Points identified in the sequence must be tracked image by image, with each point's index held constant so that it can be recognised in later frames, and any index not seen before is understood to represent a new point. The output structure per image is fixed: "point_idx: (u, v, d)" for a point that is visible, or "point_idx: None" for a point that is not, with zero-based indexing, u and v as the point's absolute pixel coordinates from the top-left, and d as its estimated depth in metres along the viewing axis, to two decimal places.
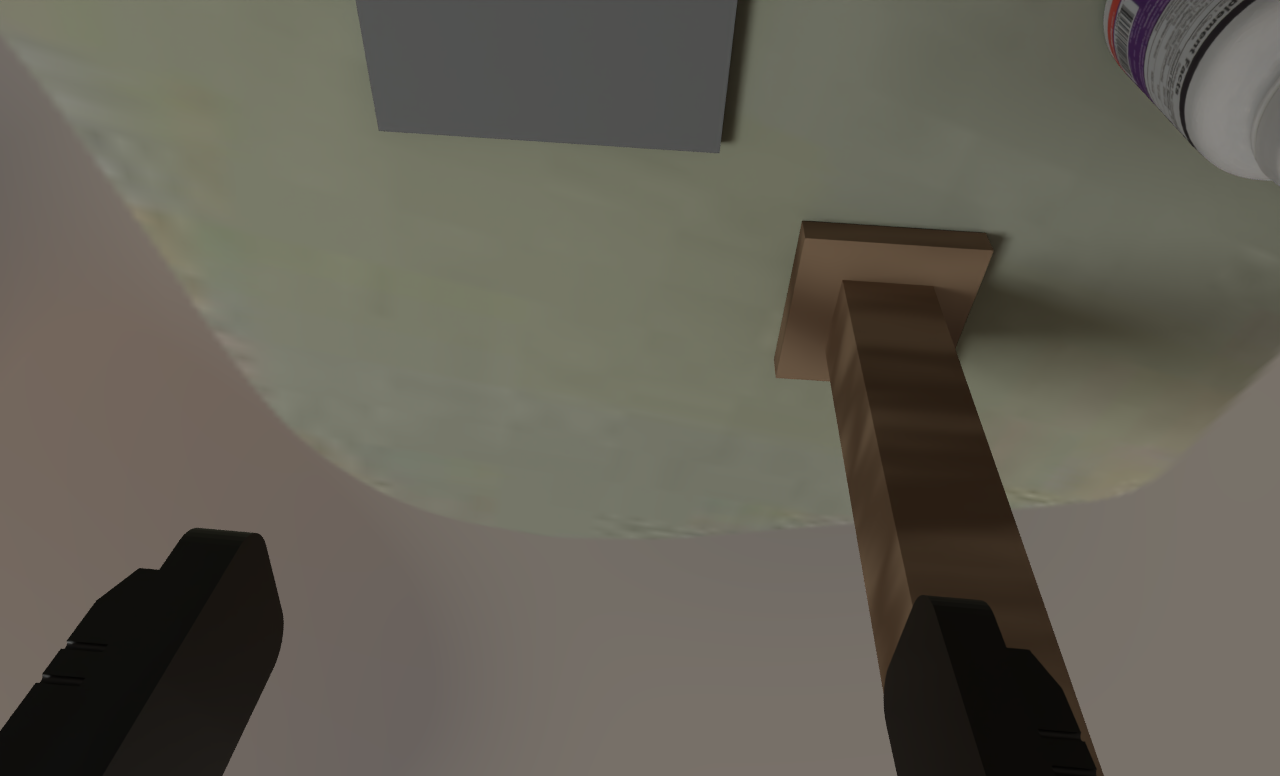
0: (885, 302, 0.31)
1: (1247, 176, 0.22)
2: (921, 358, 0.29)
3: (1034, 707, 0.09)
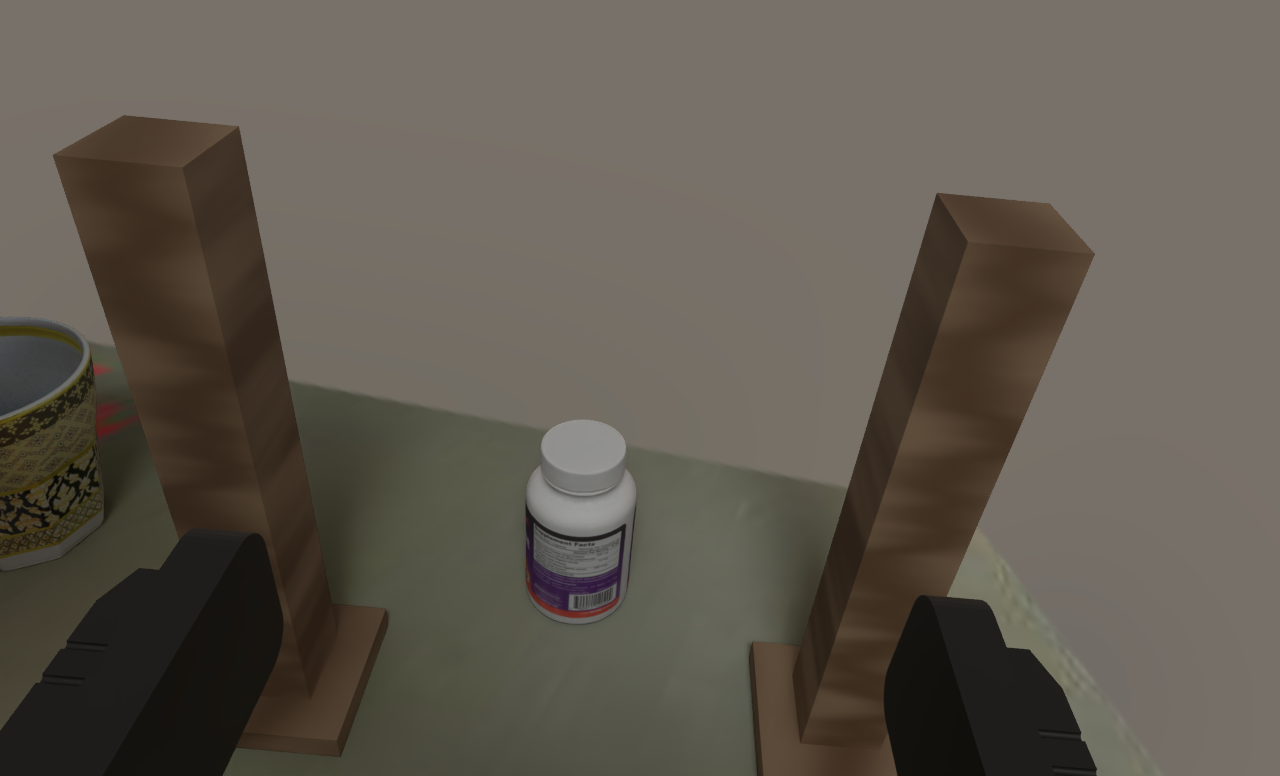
0: (802, 696, 0.37)
1: (631, 496, 0.40)
2: (814, 638, 0.36)
3: (1034, 707, 0.09)
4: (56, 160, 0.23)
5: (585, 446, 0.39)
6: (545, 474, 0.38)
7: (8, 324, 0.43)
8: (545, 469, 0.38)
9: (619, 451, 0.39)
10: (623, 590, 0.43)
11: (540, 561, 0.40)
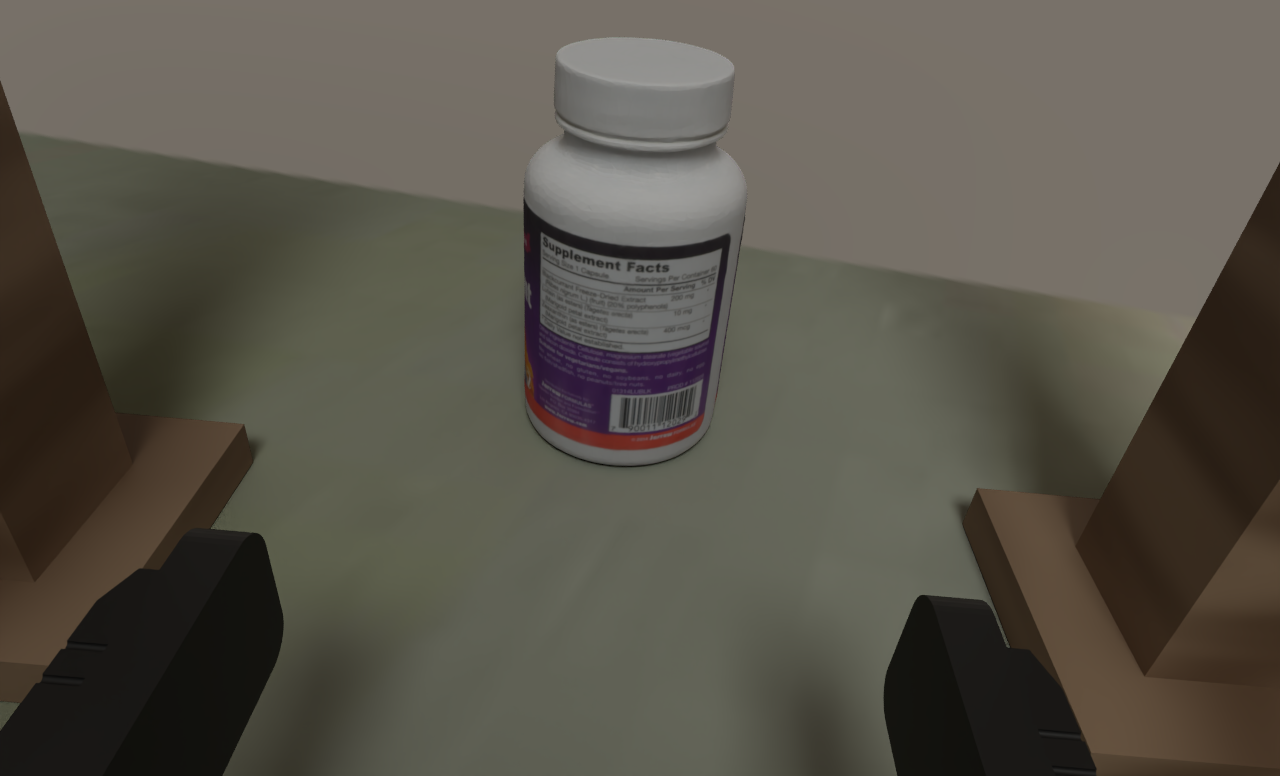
0: (1138, 575, 0.17)
1: (741, 182, 0.19)
2: (1192, 429, 0.16)
3: (1034, 707, 0.09)
4: None
5: (650, 60, 0.18)
6: (565, 112, 0.18)
7: None
8: (565, 98, 0.18)
9: (721, 67, 0.18)
10: (710, 405, 0.23)
11: (553, 324, 0.20)
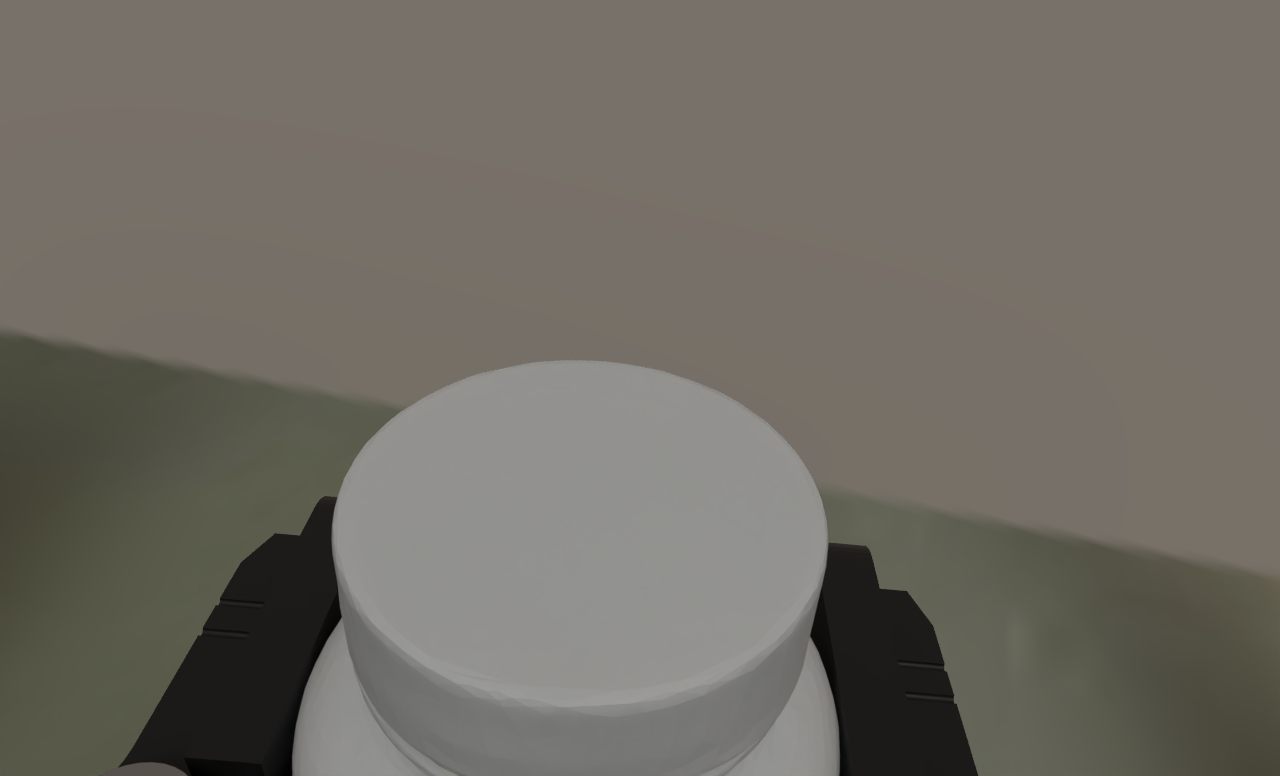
0: None
1: (830, 745, 0.08)
2: None
3: (903, 641, 0.10)
4: None
5: (597, 501, 0.07)
6: (357, 668, 0.06)
7: None
8: (351, 643, 0.06)
9: (794, 529, 0.07)
10: None
11: None
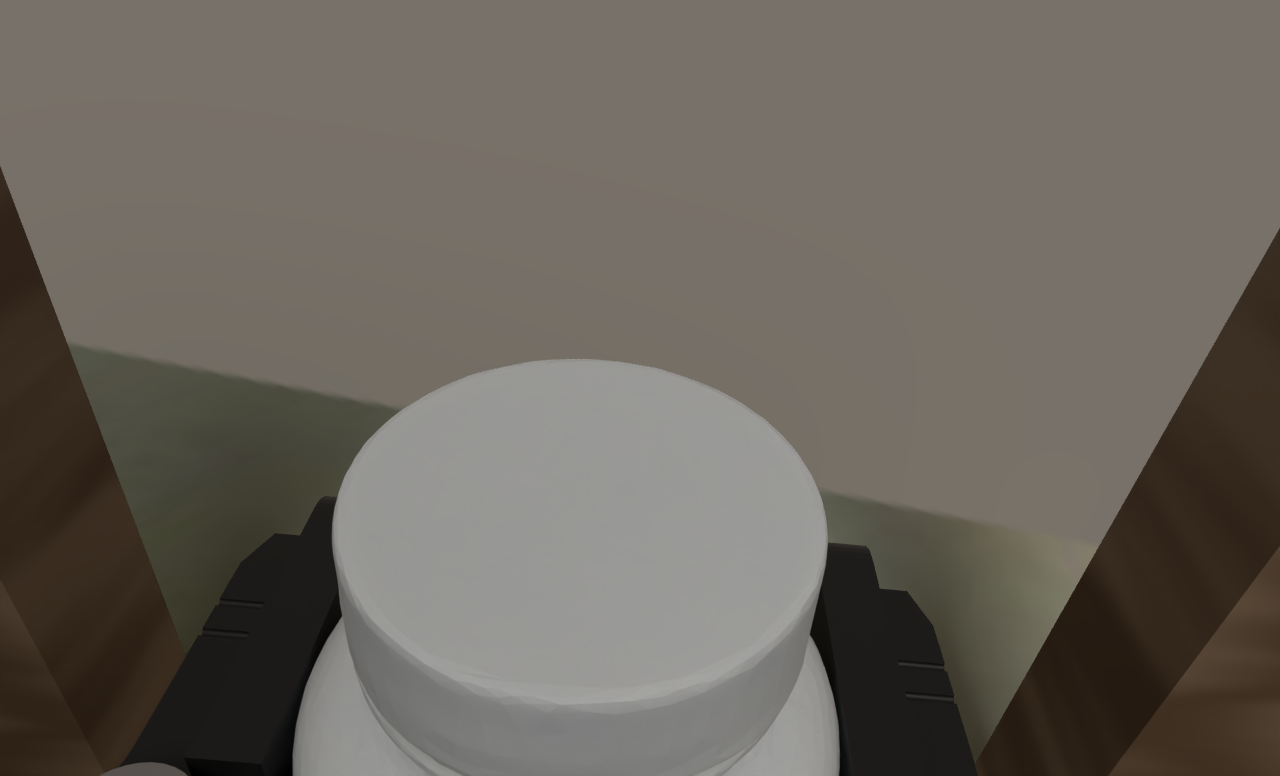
0: None
1: (829, 743, 0.08)
2: None
3: (903, 641, 0.10)
4: None
5: (597, 499, 0.07)
6: (357, 666, 0.06)
7: None
8: (351, 641, 0.06)
9: (793, 527, 0.07)
10: None
11: None
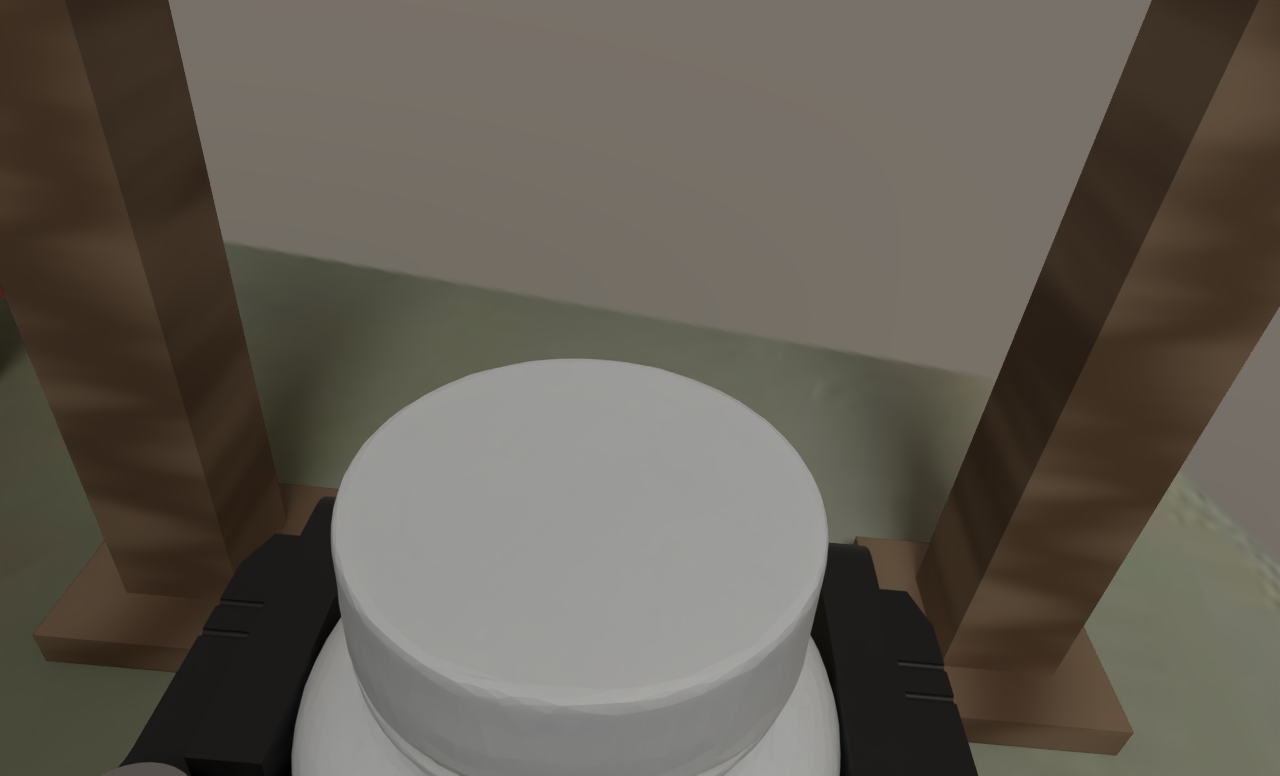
0: (940, 600, 0.26)
1: (830, 744, 0.08)
2: (966, 512, 0.25)
3: (903, 641, 0.10)
4: None
5: (597, 499, 0.07)
6: (355, 667, 0.06)
7: None
8: (350, 642, 0.06)
9: (794, 527, 0.07)
10: None
11: None
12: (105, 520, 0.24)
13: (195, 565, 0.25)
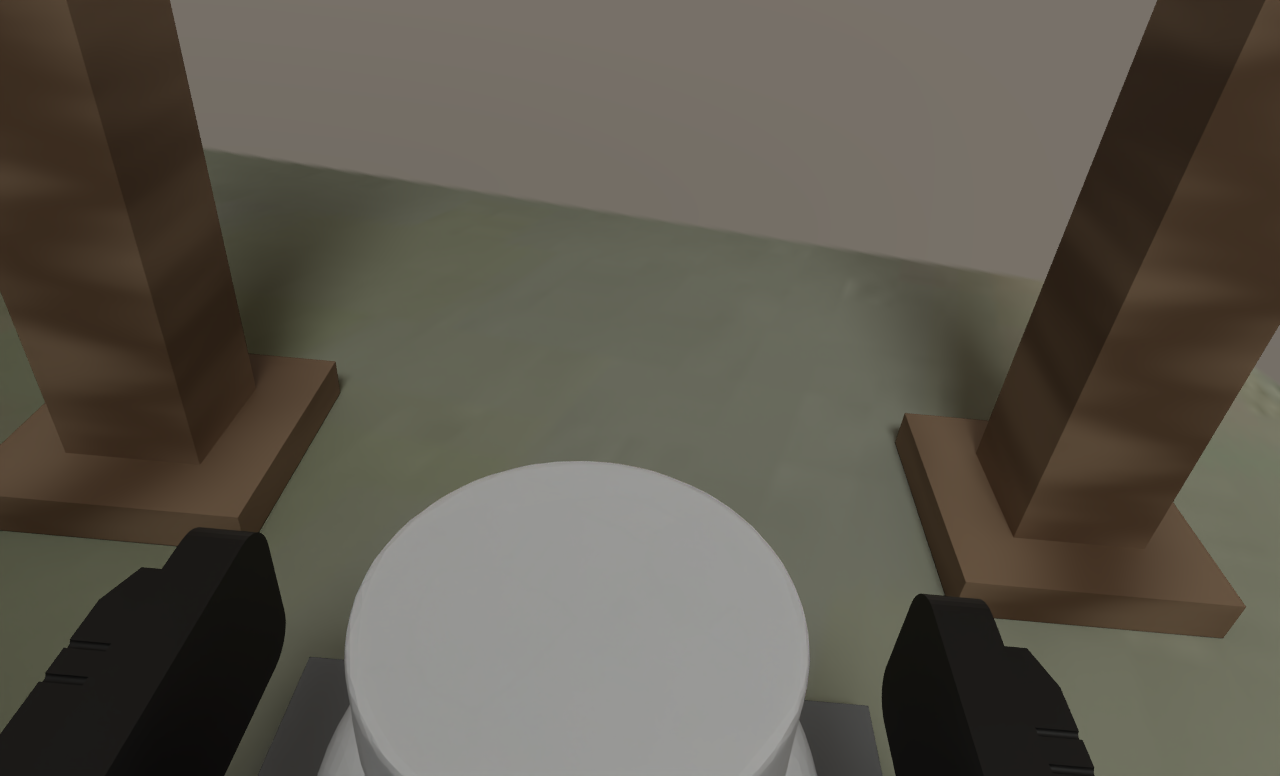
0: (1011, 465, 0.23)
1: None
2: (1043, 353, 0.21)
3: (1032, 705, 0.09)
4: None
5: (594, 619, 0.07)
6: None
7: None
8: (363, 761, 0.07)
9: (777, 648, 0.07)
10: None
11: None
12: (35, 354, 0.20)
13: (143, 414, 0.21)
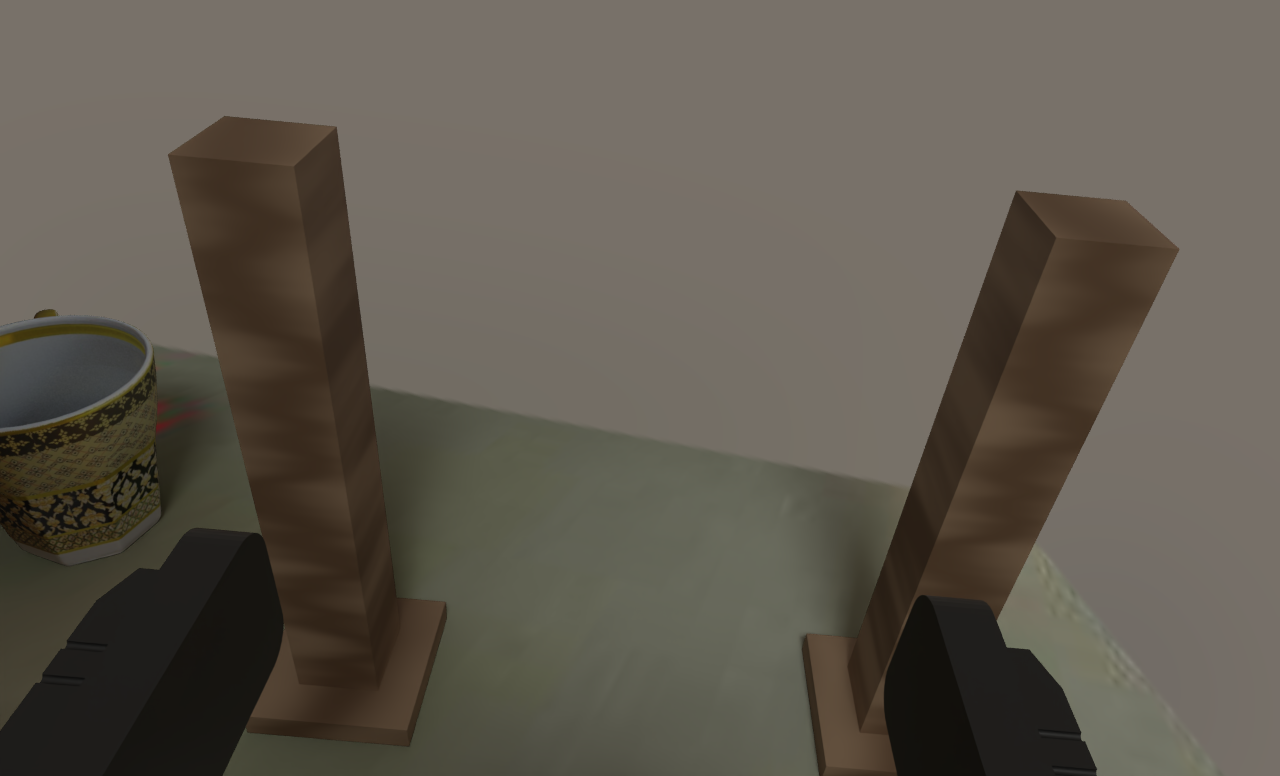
0: (860, 687, 0.38)
1: None
2: (874, 628, 0.37)
3: (1034, 707, 0.09)
4: (171, 159, 0.23)
5: None
6: None
7: (70, 322, 0.44)
8: None
9: None
10: None
11: None
12: (293, 639, 0.35)
13: (350, 667, 0.36)
